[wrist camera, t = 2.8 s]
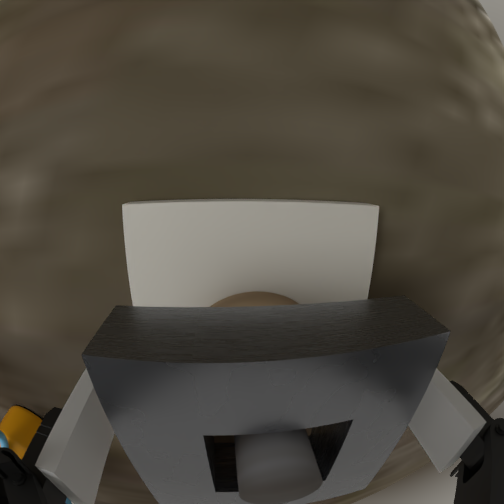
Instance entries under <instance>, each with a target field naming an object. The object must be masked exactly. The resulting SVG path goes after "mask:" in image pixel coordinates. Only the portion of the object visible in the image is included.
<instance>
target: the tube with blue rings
mask: <svg viewBox="0 0 504 504" xmlns="http://www.w3.org/2000/svg"><path fill="white" fill-rule="evenodd" d="M41 422H42V419H40V418H39V417H38V416H36V415H35V414H34V413H32V412H30V411H29V410H27V409H25V408H23V407H20V406H16V405H15V406H12V407H11V408H10V409H9V410H8V412H7V414H6V415H5V417H4V418H3V420H2V421H1V423H0V447H7V448H9V449H12V450H13V451H14V452H15V453H16V454H17V455H18V457H19V458H20V459H21V460H22V458H23V456H24V454H25V452H26V450H27V448H28V446H29V444H30V442H31V440H32V438H33V437H34V435H35V433H37V432H36V431H37V429H38V427H39V426H41ZM65 503H66V504H72V503H71V500H70V499H68V498H67V499H66V502H65Z"/></svg>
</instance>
